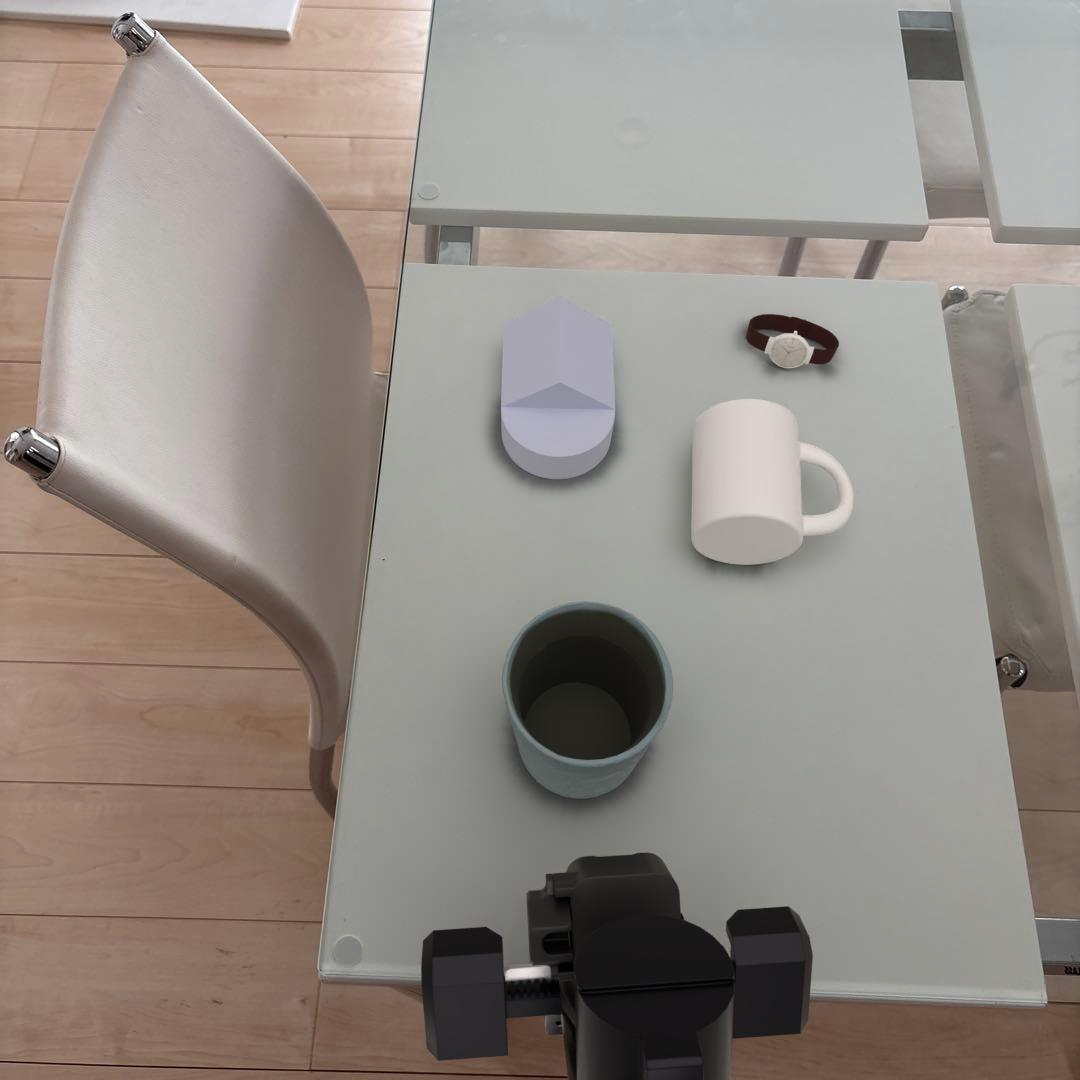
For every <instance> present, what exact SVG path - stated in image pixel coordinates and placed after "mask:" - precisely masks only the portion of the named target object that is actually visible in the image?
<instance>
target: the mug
mask: <svg viewBox="0 0 1080 1080" xmlns="http://www.w3.org/2000/svg"><path fill="white" fill-rule="evenodd" d="M799 428H800V427H799V422H798V420H797V418H796V416H795V415H794V414H793V412H792V411H790V410H789V409H788V408H787V407H785V406H783V405H782V404H779V403H777V402H773V401H771V400H765V399H760V398H738V399H731V400H726V401H724V402H720V403H717V404H714V405H713V406H711V407H709V408H708V409H706V410H705V411H703V412H702V413H701V414H700V415H699V416H698V417H697V418H696V420H695V421H694V424H693V427H692V459H691V461H692V462H691V463H692V464H691V465H692V466H691V467H692V468H691V470H692V471H691V518H690V519H691V521H690V523H691V526H690V527H691V528H690V529H691V530H690V532H691V533H690V539H691V543H692V544H691V545H692V546H693V547H694V548H695V550H696V551H697V552H698V553H699V554H701V555H703V556H704V557H706V558H709V559H710V560H713V561H716V562H720V563H724V564H729V565H738V566H739V565H740V566H741V565H743V566H745V565H746V566H749V565H750V566H751V565H762V564H768V563H769V564H770V563H772V562H777V561H779V560H782V559H785V558H787V557H788V556H791V555H793V554H794V553H795V552H796V551H797V550H798V549H799V548H800V547H801V545H802V544H803V542H804V537H813V536H814V537H815V536H823V535H828V534H831V533H834V532H837V531H838V530H840V529H841V528H843V527H844V526H845V525H846V524H847V523H848V521H849V520H850V518H851V516H852V514H853V511H854V505H855V494H854V488H853V485H852V482H851V479H850V477H849V474H848V473H847V471H846V470H845V468H844V467H843V465H842V464H841V463H840V462H839V461H838V460H837V459H836V457H834V456H833V455H832V454H830V453H829V452H828V451H826V450H825V449H823V448H821V447H819V446H816V445H813V444H810V443H808V442H802V441H801V440H800V429H799ZM801 463H805V464H809V465H813V466H816V467H818V468H821V469H823V470H824V471H826V473H828V474H829V475H830V476H831V478H832V479H833V481H834V483H835V486H836V489H837V494H838V505H837V507H836V508H835V509H833V510H831V511H829V512H826V513H821V514H814V515H813V514H810V515H808V514H807V515H805V514H803V498H802V497H803V495H802V475H801Z"/></svg>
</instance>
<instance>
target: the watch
mask: <svg viewBox="0 0 1080 1080" xmlns="http://www.w3.org/2000/svg"><path fill="white" fill-rule="evenodd" d="M747 326H748V327H747V331H746V335H745V340H746V342H747V344H748V345H750V346H751V347H753V348H755V349H757V350H758V351H762V352H764V354H766V355H769V358H770V360H771V361H772V363H774V364H775V365H777V366H778V367H780V368H782V369H783V368H784V369H795V368H798V367H800V366H802V365H804V364H805V365H809V364H811V365H826V364H828V363H830V362H831V361H832V360H833V357H834V356H835V354H836V352H837V350H838V348H839V347H840V341H839V339H838V338H837V336H836V335H835V334H834V333H833V332H831V331H830V330H828V329H827V328H825V327H823V326H821V325H818V324H816V323H814V322H811V321H809V320H806V319H803V318H800V317H798V316H787V315H784V314H775V313H764V314H763V313H762V314H757V315H755V316H753V317H752V318H750V320H749V321H748V325H747ZM761 330H769V331H776V332H777V331H778V332H782V334H779V335H777V336H775V337H774V336H771V335H766V334H764V333H761V332H759V331H761ZM806 339H807V340H809V341H812V342H815V343H817V345H818V344H819V345H820V346H821V347H823V348H824V349H820V348H816V347H815V346H810V344H809V342H808V341H807V340H806Z"/></svg>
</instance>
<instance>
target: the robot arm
mask: <svg viewBox="0 0 1080 1080" xmlns="http://www.w3.org/2000/svg"><path fill="white" fill-rule="evenodd" d="M680 893H681V892H680V888H679V885H678V884H677V882H676V880H675V879H674V877H673V875H672V873H671V871H670V869H669V868H668V866H667V864H666V863H665V862H664V860H663V859H662V857H660V856H659V855H657V854H655V853H653V852H636V853H632V854H621V855H619V854H618V855H602V856H601V855H600V856H597V855H584V856H580V857H577V858H576V859H574V860H572V862H570V863H569V865H568V867H567V868H566V871H565V872H553V873H552V872H550V873H545V885H544V887H542V888H541V889H533V890H528V891H527V892H526V917H527V918H526V919H527V936H528V937H527V939H528V952H529V962H527V963H512V964H507V965H506V966H505V965H504V962H505V961H504V940H503V935H500V934H499V933H497V932H496V931H494V930H492V929H491V928H489V927H487V926H476V927H462V928H446V929H445V928H444V929H433V930H432V931H431V932H430V933H429V934H428V935H427V936H425V938H424V939H423V940H422V948H421V963H420V974H421V975H420V976H421V979H420V980H421V981H420V983H421V985H420V986H421V995H422V997H421V998H422V1006H423V1007H422V1008H423V1020H424V1030H425V1031H424V1032H425V1043H426V1050H428V1052H429V1053H430V1054H431V1055H432V1056H433V1057H434V1058H435V1059H436V1060H437V1061H439V1062H442V1061H456V1060H468V1059H469V1060H470V1059H480V1058H492V1057H493V1058H494V1057H507V1056H509V1044H508V1043H509V1041H508V1025H507V1019H516V1018H530V1017H544V1032H545V1034H546V1035H548V1036H558V1035H559V1036H560V1035H563V1036H562V1037H563V1046H564V1047H563V1048H564V1055H565V1065H566V1066H565V1067H566V1075H567V1080H732V1062H733V1040H735V1039H736V1040H737V1039H750V1038H763V1037H776V1036H777V1037H778V1036H789V1035H790V1036H791V1035H800V1034H801V1033H802V1032H803V1030H804V1028H805V1027H806V1025H807V1023H808V1021H809V1014H810V1013H809V1011H810V1001H811V986H812V985H811V984H812V973H813V958H814V955H813V949H812V943H811V938H810V935H809V933H808V930H807V928H806V927H805V924H804V923H803V920H802V918H801V915H800V914H799V913H798V912H797V911H796V910H794V909H793V908H791V907H790V906H788V905H787V906H772V907H760V908H759V907H758V908H757V907H756V908H743V909H737V910H736V911H735V912H734V913H733V914H732V915H731V916H730V917H729V918H728V919H727V920H726V921H725V933H726V935H727V938H728V941H729V944H730V949H729V950H730V951H729V953H730V954H729V953H728V952H727V949H726V947H724V945H723V944H721V942H720V941H719V940H718V939H717V938H716V937H715V936H714V935H713V934H712V933H709V932H708V931H707V930H705V929H704V928H702V927H701V926H699V925H697V924H695V923H692V922H690V921H687V920H686V919H685V916H684V915H683V913H682V912H681V911H682V910H681V894H680Z"/></svg>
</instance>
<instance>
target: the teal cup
mask: <svg viewBox="0 0 1080 1080" xmlns="http://www.w3.org/2000/svg"><path fill="white" fill-rule="evenodd" d="M671 667H672V666H671V664H670V661H669V659H668V656H667V653H666V651H665V649H664V647H663V645H662V643H661V641H660V640H659V639H658V637H657V636H656V634H655V633H654V631H652V629H651V628H649V627H648V626H647V624H645V622H643V621H642V620H641V619H639V618H638V617H637V616H635V615H634V614H632V613H630V612H628V611H626V610H625V609H623V608H621V607H618V606H615V605H612V604H609V603H603V602H599V601H588V600H587V601H585V600H584V601H573V602H567V603H563V604H559V605H556V606H554V607H552V608H551V607H550V608H549V609H546V610H545V611H543V612H541V613H540V614H538V615H536V616H535V617H533V618H532V619H531V620H530V621H528V622H527V623H526V624H525V625H523V627H522V628H521V629H520V631H519V632H518V633H517V634H516V636H515V638H514V639H513V641H512V642H511V644H510V647H509V649H508V650H507V653H506V654H505V659H504V663H503V668H502V674H501V688H502V694H503V695H502V696H503V698H504V702H505V705H506V709H507V713H508V716H509V721H510V725H511V727H512V730H513V734H514V738H515V742H516V744H517V747H518V752H519V755H520V757H521V760H522V762H523V764H524V767H525V769H526V770H527V771H528V773H529V775H531V777H532V778H533V779H534V780H535V781H536V783H538V784H539V785H540V786H542V787H543V788H545V789H546V790H548V791H549V792H551V793H553V794H556V795H558V796H561V797H565V798H569V799H576V800H577V799H578V800H582V799H583V800H584V799H592V798H597V797H600V796H603V795H605V794H607V793H609V792H612V791H613V790H614V789H616V788H618V787H619V786H620V785H621V784H623V783H624V782H625V781H626V779H628V777H629V776H630V774H631V773H632V772H633V770H634V769H635V768H636V766H637V764H638V763H639V762H640V760H641V759H642V758H643V756H644V755H645V754H646V752H647V751H648V748H649V747H650V745H651V743H652V742H653V740H654V739H656V737H657V735H658V734H659V733H660V732H661V730H662V728H663V727H664V724H665V722H666V721H667V719H668V716H669V713H670V711H671V706H672V702H673V696H674V694H673V693H674V678H673V673H672V668H671Z"/></svg>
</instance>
